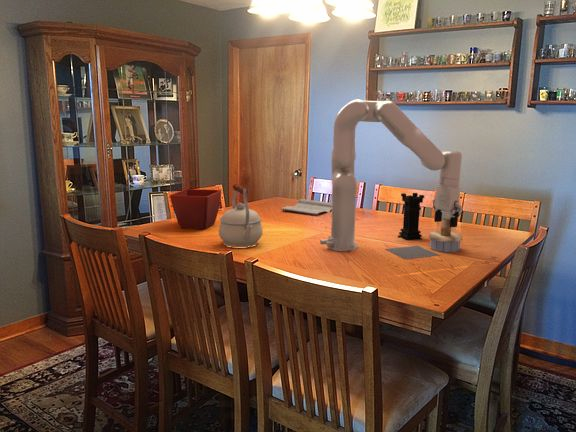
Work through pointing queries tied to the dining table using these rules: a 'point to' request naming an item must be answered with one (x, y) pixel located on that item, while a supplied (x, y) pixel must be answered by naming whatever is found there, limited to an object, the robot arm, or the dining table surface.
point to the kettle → (240, 223)
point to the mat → (309, 207)
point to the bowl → (445, 246)
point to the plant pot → (196, 207)
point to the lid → (445, 233)
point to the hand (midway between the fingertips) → (445, 224)
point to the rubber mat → (411, 252)
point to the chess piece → (411, 217)
